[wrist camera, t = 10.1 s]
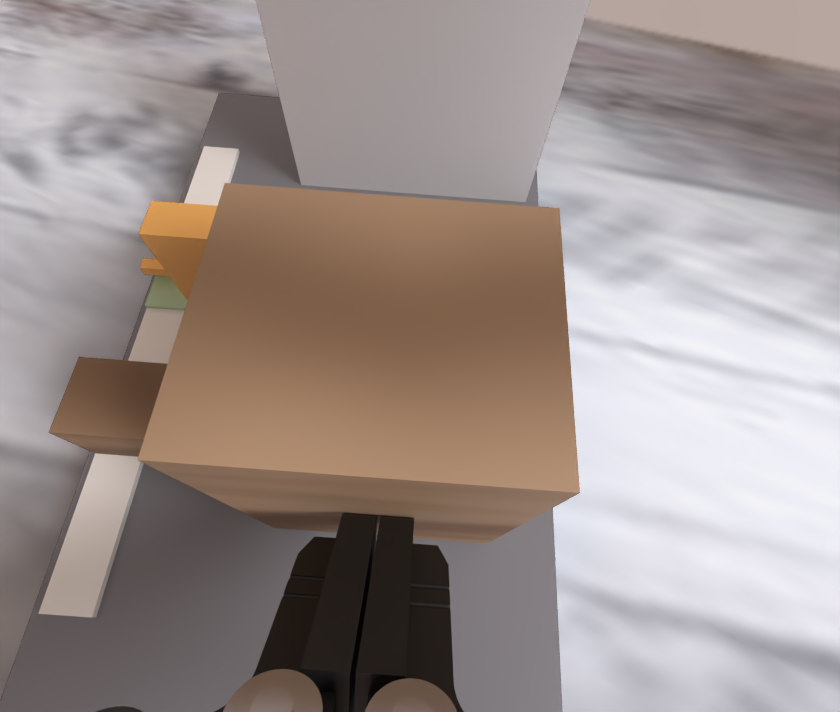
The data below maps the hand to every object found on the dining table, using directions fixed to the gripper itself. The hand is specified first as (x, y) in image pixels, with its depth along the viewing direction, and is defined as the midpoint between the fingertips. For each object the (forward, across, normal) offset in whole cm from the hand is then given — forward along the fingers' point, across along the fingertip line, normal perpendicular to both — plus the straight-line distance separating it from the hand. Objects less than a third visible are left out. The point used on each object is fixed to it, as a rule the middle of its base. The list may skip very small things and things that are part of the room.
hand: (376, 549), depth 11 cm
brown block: (+5, +3, 0) cm, 5 cm away
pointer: (+8, +7, -3) cm, 11 cm away
